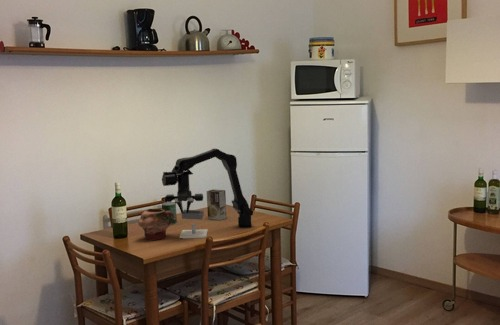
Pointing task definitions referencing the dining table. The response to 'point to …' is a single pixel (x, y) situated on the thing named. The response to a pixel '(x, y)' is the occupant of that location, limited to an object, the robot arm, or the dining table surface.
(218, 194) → the coffee box
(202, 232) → the post stand
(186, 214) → the grey square frame
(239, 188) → the robot arm
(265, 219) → the dining table surface
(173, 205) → the canned tomato
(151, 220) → the decorative planter
